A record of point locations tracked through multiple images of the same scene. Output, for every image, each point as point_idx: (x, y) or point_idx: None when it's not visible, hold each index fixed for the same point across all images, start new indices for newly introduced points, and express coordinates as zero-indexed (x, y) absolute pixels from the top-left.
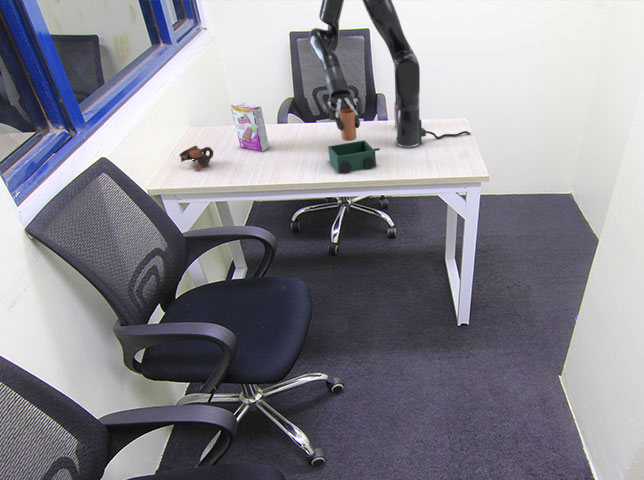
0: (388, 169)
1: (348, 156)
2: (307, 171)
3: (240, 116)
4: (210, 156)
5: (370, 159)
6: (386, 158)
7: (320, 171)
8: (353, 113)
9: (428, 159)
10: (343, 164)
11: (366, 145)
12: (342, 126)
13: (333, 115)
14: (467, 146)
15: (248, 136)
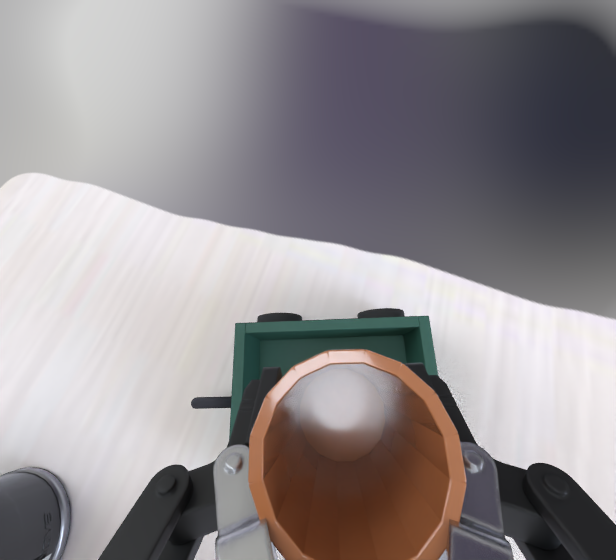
0: (224, 292)
1: (368, 319)
2: (538, 399)
3: None
4: None
5: (272, 313)
6: (186, 397)
7: (480, 376)
8: (285, 375)
9: (60, 321)
10: (394, 309)
11: None
12: (408, 367)
13: (530, 479)
14: None
15: None
